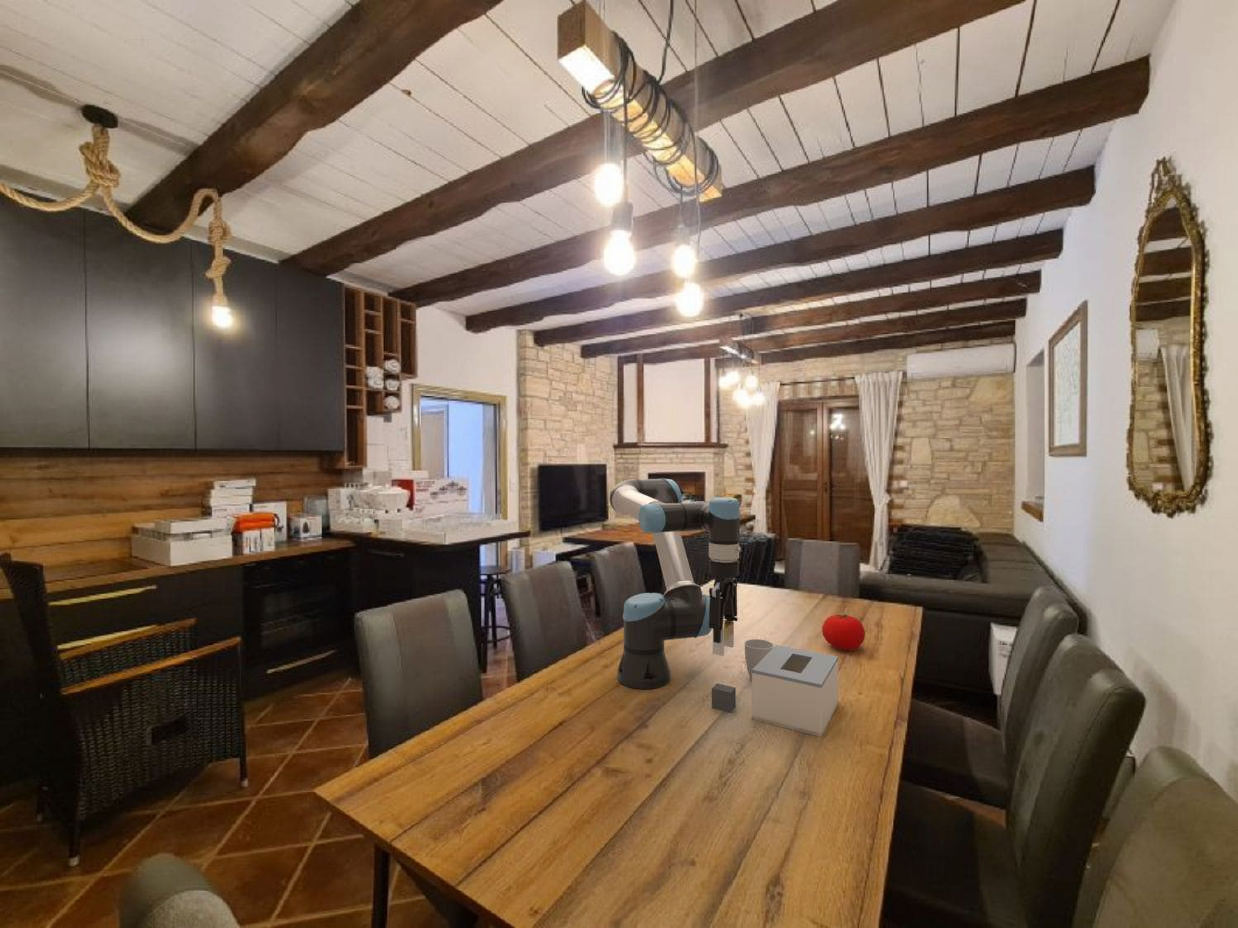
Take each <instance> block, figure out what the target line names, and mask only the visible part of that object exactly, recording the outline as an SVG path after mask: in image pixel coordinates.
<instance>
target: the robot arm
mask: <svg viewBox="0 0 1238 928" xmlns="http://www.w3.org/2000/svg"><path fill="white" fill-rule="evenodd" d="M682 496H683V495H682V493H681V489H680V487H679V485H678V483H677V482H675V481H674V479H672V478H671V479H669V478H663V477H662V478H661V477H660V478H643V479H641V478H631V479H630V478H629V479H626V480H623V481H621V482H618V483H617V484H616V485H614V487H613V488H612V489H611V491H610V493H609V498H608V499H609V504H610V506H611V508H612V509H613V511H614V512H616V513H617V514H619V515H621V516H630V517H631V518H634V519H635V520H637V521H638V523H639V527H640V529H641V531H642V532H644V533H652V535H653V540H654V543H655V547H656V552H657V555H658V560H659V565H660V569H661V572H662V577H663V580H664V585H665V589H666V590H665V592H664V594H661V593H659V592H651V593H650V592H643V593H639V594H636V595H632V596H631V597H629V598H628V599H626V600H625V601H624V605H623V614H622V619H623V650H622V651H623V652H622V654H621V655H622V656H621V657H620V662H619V665H618V667H617V681H618V682H619V683H620V684H622V685H624V686H626V687H629V688H633V689H638V690H639V689H642V690H643V689H645V690H647V689H648V690H649V689H656V688H657V689H658V688H662V687H664V686H666V685H667V684H668V683H669V682H670V681H671V668H670V666H669V665H670V664H669V662H668V658H667V655H666V653H665V641H670V640H671V641H672V640H680V639H681V640H683V639H691V638H693V639H697V638H700V637H705V636H707V635H709V634H710V632H712V655H715V656H721V657H724V656H725V647H727V648H734V647H735V646H734V645H735V641H734V640H735V639H734V638H735V637H734V636H735V631H734V630H735V628H734V627H735V626H734V625H735V623H734V624H733V635H731V636H730V637H729V638H728V639H726V640H725V641H724V629H723V620H724V621H730V622H737V621H738V618H739V617H737V616H738V579H737V578H736V577H738V576H739V575H740V561H739V560H738V559H739V558H740V552H742V548H741V547H740V528H741V525H740V524H741V523H740V522H741V511H740V502H739V500H738V499H737V498H735V497H726V496H724V497H721V496H719V497H718V496H717V497H712V498H710V500H709V501H707V500H696V501H694V502H683V499H682ZM695 531H696V532H697V531H700V532H701V531H704V532H705V531H706V532H708V557H709V560H708V574H709V575H710V576H713V577H714V582H713V587H709V589H708V594H703V591H702V588H701V585H699V584H696V582H694V578H693V577H694V576H693V574H692V572H691V571H692V569H691V568H690V564H689V559H688V557H687V552H686V548H685V545H684V542H683V538H682V534H681V532H695Z"/></svg>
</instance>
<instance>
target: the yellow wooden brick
mask: <svg viewBox="0 0 1238 928" xmlns="http://www.w3.org/2000/svg"><path fill="white" fill-rule="evenodd" d="M724 620H725V619H724ZM724 620H723V629H724V641H725V640H726V639H728V638H729V637H730V636H731V635H733V624H734V625H735V621H733V622H730V621H724Z"/></svg>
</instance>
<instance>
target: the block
mask: <svg viewBox="0 0 1238 928" xmlns="http://www.w3.org/2000/svg"><path fill="white" fill-rule="evenodd" d="M736 688H737V687H735V686H731V685H726V684H722V683H719V682H718V683H715V685H713V686H712V687H711V709H714V710H718V711H723V712H726V713H732V712H733V711H734V710H735V709H736V707H737V706H736V703H737V701H736V699H737V695H736V693H737V691H736V690H737V689H736Z"/></svg>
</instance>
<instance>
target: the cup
mask: <svg viewBox="0 0 1238 928" xmlns="http://www.w3.org/2000/svg"><path fill="white" fill-rule="evenodd" d="M743 647H744V655H745V656H744V657H745V664H746V665H745V666H746V670H747V673H748V677H749V679H750V681H752V669H753V668H754V667H755V666H756V665H757V664H758V663H759V662H760V661H761V660H762V659H763V658H764V657H765V656H766V655H767V654H768V653H769V652H770V651H771V650H772V649H773V648H774V647H775V645H774V643H773V642H771V641H769V640H765V639H761V638H760V639H759V638H752V639H748V640H745V641H744V646H743Z"/></svg>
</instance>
